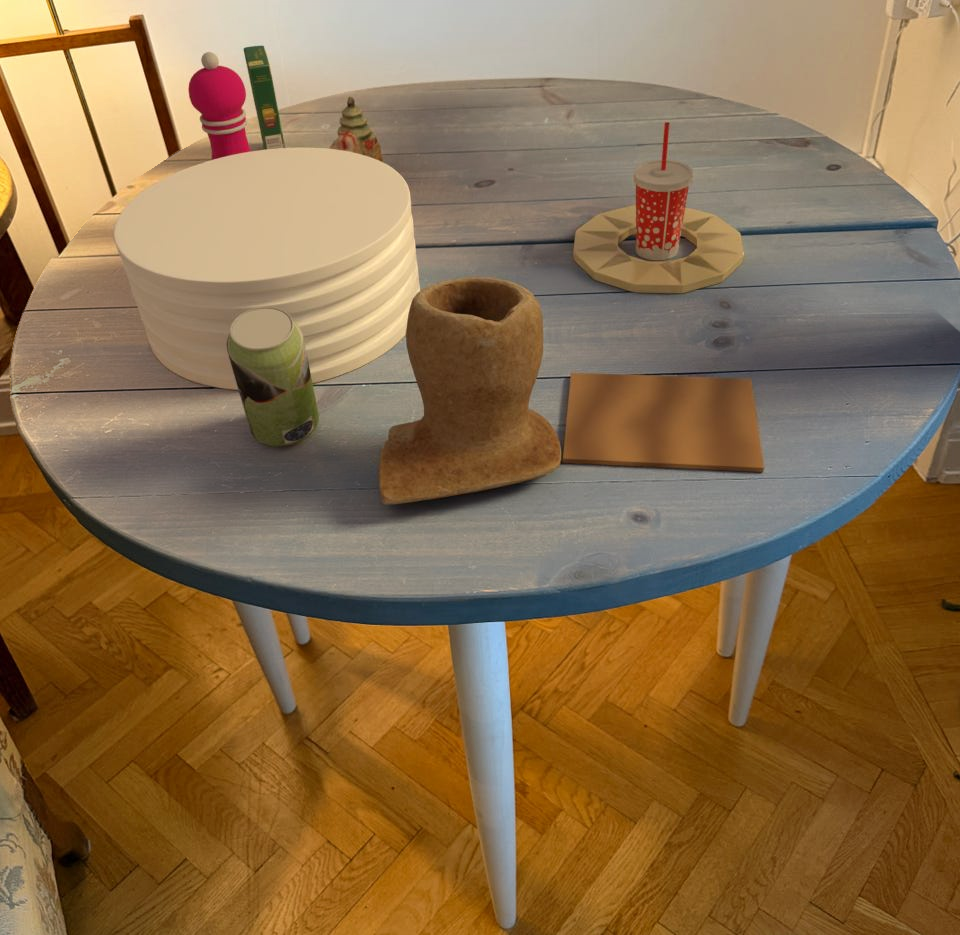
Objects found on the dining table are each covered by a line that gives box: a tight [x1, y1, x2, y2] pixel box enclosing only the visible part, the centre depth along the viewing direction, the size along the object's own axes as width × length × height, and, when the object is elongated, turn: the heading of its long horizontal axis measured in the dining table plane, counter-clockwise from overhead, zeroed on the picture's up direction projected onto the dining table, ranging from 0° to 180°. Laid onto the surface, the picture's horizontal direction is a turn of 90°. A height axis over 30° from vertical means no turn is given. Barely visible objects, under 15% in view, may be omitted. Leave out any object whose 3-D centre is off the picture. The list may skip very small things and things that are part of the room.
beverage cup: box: [632, 121, 694, 261], centre depth 97 cm, size 6×6×14 cm
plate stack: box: [113, 147, 421, 391], centre depth 93 cm, size 28×28×12 cm
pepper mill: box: [188, 51, 252, 160], centre depth 104 cm, size 7×7×20 cm
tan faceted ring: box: [572, 204, 745, 294], centre depth 101 cm, size 18×18×1 cm
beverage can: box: [226, 307, 320, 447], centre depth 77 cm, size 6×7×12 cm
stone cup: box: [378, 276, 562, 506], centre depth 72 cm, size 15×12×15 cm
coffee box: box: [243, 45, 286, 150], centre depth 123 cm, size 8×3×13 cm, turn 15°
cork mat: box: [562, 372, 765, 473], centre depth 79 cm, size 16×12×1 cm
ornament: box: [329, 95, 384, 163], centre depth 117 cm, size 8×6×10 cm
